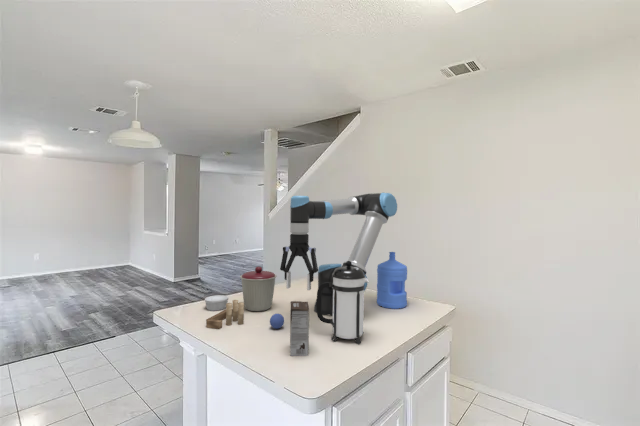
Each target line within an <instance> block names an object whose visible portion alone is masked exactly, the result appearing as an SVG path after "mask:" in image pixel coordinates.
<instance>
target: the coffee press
mask: <svg viewBox="0 0 640 426" xmlns="http://www.w3.org/2000/svg"><path fill="white" fill-rule="evenodd" d="M346 261H347V262H346ZM346 261H345V262H346V265H347V266H344V267H338V268H336V269H335V270H334V272H333V273H332V276H333V283H329V282H326V283H323V284H321V285H320V286H319V288H318V287H317V291H316V299H317V313H316V315H317V318H318V320H319V321H321V322H322V323H324V324H327V325H328V324H331V326H332V333H333V334H332V336H331V337H330V340H331V341H332V342H333V343H334V342H337V341H338V339H339V338H340V339H345V340H355V341H354V342H355V343H356V345H360V344H361V343H362V340H361V337H362V336H363V335H364V333H365V332H364V323H365V322H364V320H365V319H364V315H365V314H364V310H365V309H364V308H365V305H364V304H365V301H364V300H365V291H364V289H365V284H364V283H367V284H369V282H370V281H369V279H368V277H367V276H366V277H367V278H366V277H365V274H364V272H363V270H362V269H360V268H357V267H351V264H352V263H351V261H348V260H346ZM325 287H332V288H333V315H332V318H326V317H325V316H324V315H323V314H322V313H321V297H322V290H323V288H325Z"/></svg>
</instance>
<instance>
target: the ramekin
mask: <svg viewBox="0 0 640 426" xmlns="http://www.w3.org/2000/svg"><path fill="white" fill-rule="evenodd" d="M228 301H229V296H228V295H222V294H215V295H211V296H207V297H205V298H204V302H205V308H206V310H208V311H212V312H217V311H218V312H219V311H224V310H226V304H227V303H229V302H228Z"/></svg>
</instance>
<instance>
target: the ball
mask: <svg viewBox="0 0 640 426" xmlns="http://www.w3.org/2000/svg"><path fill="white" fill-rule="evenodd" d="M284 324H285V318H284V316H283V315H282V314H281V313H273V314H272V315H271V317H270V319H269V325H270V326H271V327H272V328H273V329H276V330H277V329H280V328H282V327H283V326H284Z"/></svg>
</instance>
